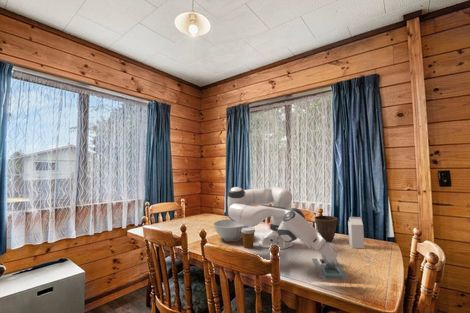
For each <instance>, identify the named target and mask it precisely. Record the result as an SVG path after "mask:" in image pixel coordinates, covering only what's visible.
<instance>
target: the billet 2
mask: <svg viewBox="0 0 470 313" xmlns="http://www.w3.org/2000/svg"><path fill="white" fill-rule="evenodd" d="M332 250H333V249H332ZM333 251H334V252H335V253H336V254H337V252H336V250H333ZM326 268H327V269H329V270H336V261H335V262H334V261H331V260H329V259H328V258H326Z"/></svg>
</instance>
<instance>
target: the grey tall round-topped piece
mask: <svg viewBox="0 0 470 313" xmlns="http://www.w3.org/2000/svg"><path fill="white" fill-rule="evenodd" d="M321 259H322V264H326V257H325V256H324V255H323V254H321Z"/></svg>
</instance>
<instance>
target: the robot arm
mask: <svg viewBox="0 0 470 313" xmlns="http://www.w3.org/2000/svg"><path fill="white" fill-rule="evenodd" d="M292 200H293V193H292V192H291V191H290V190H289V189H287V188H285V187H280V186H270V187H269V186H268V187H263V188H262V187H261V188H250V189H249V188H248V189H243V188H242V187H241V186H233V187H230V189H228V192H227V210H228V213H227V214H228V219H231V220H232V221H236V222H238V223H240V224H243V225H245V226H249V227H252V228H254V227H255V226H257V225H259V224H261V223H262V222H263V221H264V220H266V219H268V218H269V217H271V218H272V222H269V224H268V225H269V229H267V230H266V231H265V232H264V233H263V235H262V236H261V239H260V240H259V242H258V246H259V248H264V249H270V248H269V247H270V245H271V244H276V245H278V246H279V247H280V249H279V250H285V249H287V248H290V247H292V246H293V243H292V242H294V241H296V240H297V239H299V240H300V241H301V242H302V243H303V244H304V245H305V246H306V247H307V248H309V249H312V250H314V251H315V252H318V253H319V254H320V255H322V254H323V255H324V256H325V257H326V258H328V259H329V260H331V261H334V262H335V261H336V260H337V261H338V259H337V257H338V255H337V252H336V251H335V250H334V251H335V252H336V253H335V252H334V251H333V249H332V247H331V246H330V245H329V244H328V242H326V240H325V239H324V238H323V237H322V236H321V234H320V233H319V232H318V230H317V228H315V227H314V226H312V225H311V224H310V223H309V222H308V221H307V220H306V218H305V214H304V212H303V211H302V210H300V209H299V208H296V207H295V208H294V207H290V205H291V203H292ZM269 204H274V205H269Z"/></svg>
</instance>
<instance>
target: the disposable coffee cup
mask: <svg viewBox="0 0 470 313" xmlns="http://www.w3.org/2000/svg"><path fill="white" fill-rule="evenodd" d="M241 232H242V237H241V238H242V243H243V248H245V249H253V248H254V242H255V233H256V230H255V228H254V227H245V228H242V230H241Z"/></svg>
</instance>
